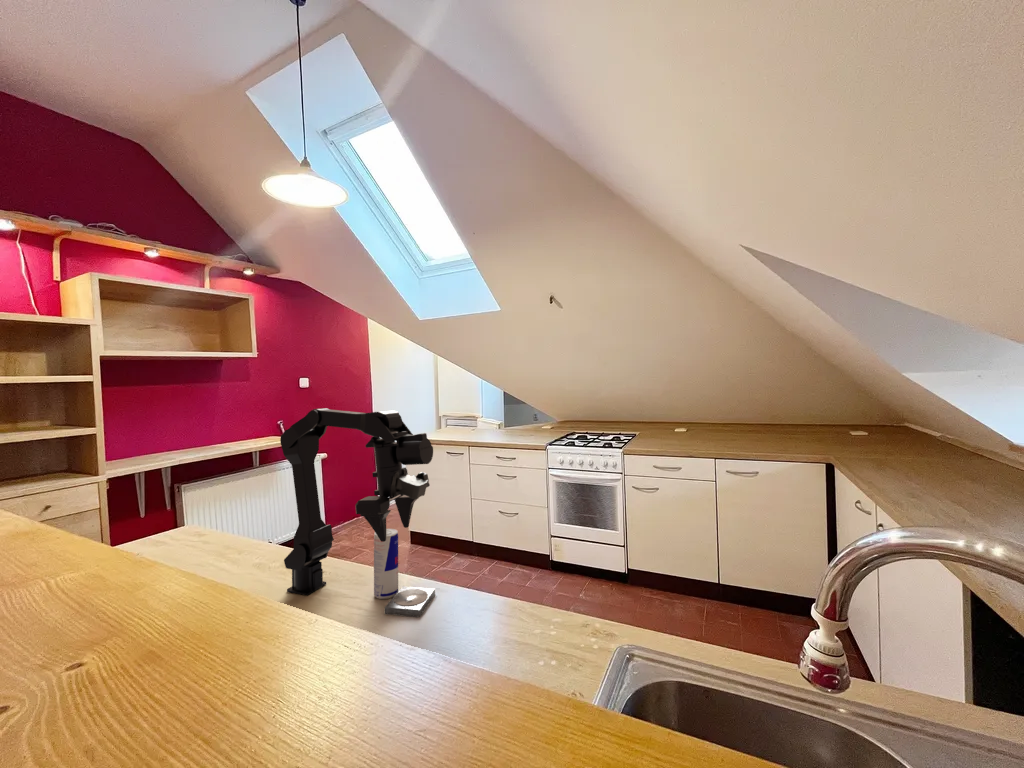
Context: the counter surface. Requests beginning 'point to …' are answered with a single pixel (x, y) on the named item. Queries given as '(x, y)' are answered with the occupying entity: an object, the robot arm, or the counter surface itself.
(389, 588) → the beverage can
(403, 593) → the plate
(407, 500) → the robot arm
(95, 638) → the counter surface
